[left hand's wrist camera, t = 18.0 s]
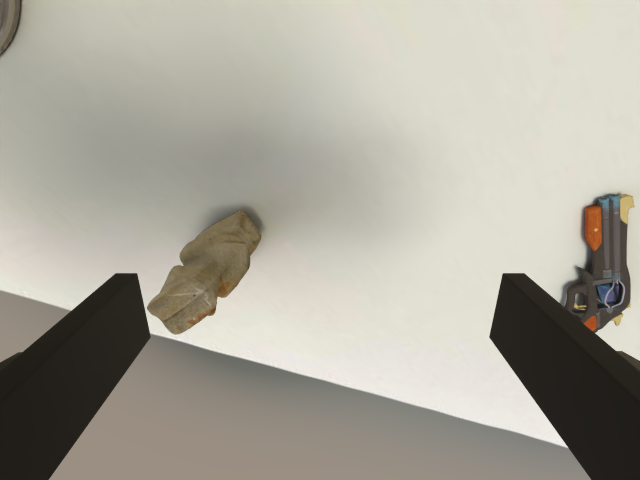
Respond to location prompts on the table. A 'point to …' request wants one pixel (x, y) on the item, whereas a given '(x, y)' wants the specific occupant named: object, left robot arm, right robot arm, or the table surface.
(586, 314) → the toy gun
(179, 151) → the table surface
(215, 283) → the sculpture
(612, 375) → the left robot arm
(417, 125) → the table surface
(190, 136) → the table surface
